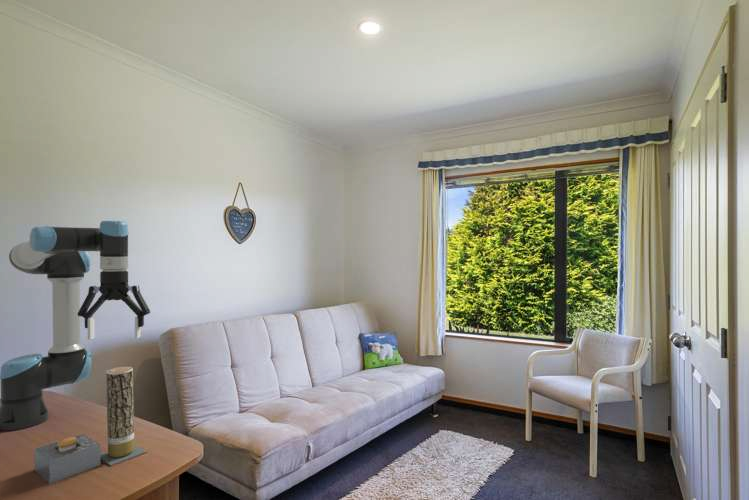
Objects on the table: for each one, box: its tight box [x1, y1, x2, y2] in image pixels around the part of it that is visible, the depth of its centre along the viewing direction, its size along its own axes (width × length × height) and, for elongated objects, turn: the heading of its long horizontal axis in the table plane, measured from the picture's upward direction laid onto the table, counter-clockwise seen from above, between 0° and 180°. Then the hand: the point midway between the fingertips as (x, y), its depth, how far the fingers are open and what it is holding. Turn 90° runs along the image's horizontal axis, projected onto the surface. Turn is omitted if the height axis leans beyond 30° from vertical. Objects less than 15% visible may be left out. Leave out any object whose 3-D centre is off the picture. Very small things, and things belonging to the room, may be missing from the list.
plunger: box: [57, 436, 77, 452], centre depth 121 cm, size 5×5×7 cm
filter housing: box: [33, 433, 101, 485], centre depth 121 cm, size 12×12×6 cm
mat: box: [100, 444, 148, 467], centre depth 129 cm, size 10×10×1 cm
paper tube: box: [105, 366, 135, 458], centre depth 129 cm, size 7×7×25 cm
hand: (114, 338), depth 135 cm, fingers open, 13 cm apart
